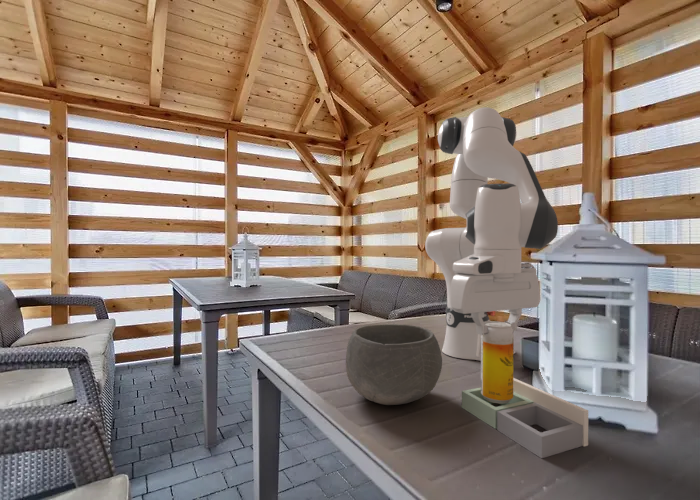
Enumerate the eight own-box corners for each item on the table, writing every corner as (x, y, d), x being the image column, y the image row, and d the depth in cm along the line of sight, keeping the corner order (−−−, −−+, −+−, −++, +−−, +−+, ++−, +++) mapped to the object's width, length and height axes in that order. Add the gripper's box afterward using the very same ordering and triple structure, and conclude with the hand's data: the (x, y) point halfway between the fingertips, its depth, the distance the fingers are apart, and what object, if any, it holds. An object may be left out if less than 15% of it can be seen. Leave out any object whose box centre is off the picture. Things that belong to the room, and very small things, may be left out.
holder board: (499, 398, 81) (499, 371, 81) (588, 445, 62) (588, 410, 62) (461, 407, 77) (461, 378, 77) (542, 459, 58) (543, 422, 58)
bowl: (441, 384, 89) (441, 323, 89) (443, 427, 69) (443, 348, 68) (356, 378, 94) (356, 319, 93) (334, 416, 73) (334, 341, 73)
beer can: (516, 406, 70) (517, 328, 70) (483, 403, 72) (483, 326, 71) (509, 393, 76) (509, 321, 76) (478, 391, 78) (479, 320, 77)
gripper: (523, 261, 80) (522, 324, 81) (445, 263, 73) (445, 333, 73) (548, 263, 74) (547, 331, 75) (467, 265, 67) (466, 341, 67)
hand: (496, 332), depth 74 cm, fingers closed on beer can, 6 cm apart
